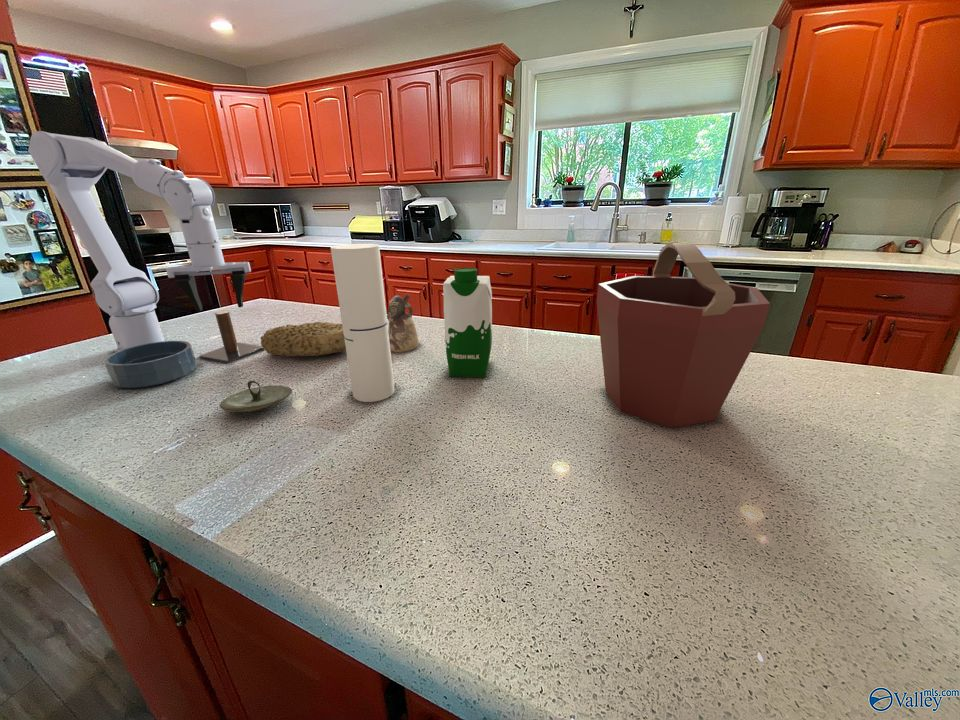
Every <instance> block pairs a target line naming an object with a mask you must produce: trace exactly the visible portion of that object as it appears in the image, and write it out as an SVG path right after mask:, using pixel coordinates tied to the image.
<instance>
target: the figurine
mask: <svg viewBox="0 0 960 720" xmlns="http://www.w3.org/2000/svg"><path fill="white" fill-rule="evenodd" d="M410 298H411V295H409V294H407V293H406V294H405V295H404V296H403V297H402V296H400V295H394V296H393V297H392V298H391V299H390V300H389V301H388V307H387V308H388V309H387V310H386V315H387V322H388V333H389V343H390V352H394V353H395V352H396V353H404V352H409V351H413V350H415V349H416V348H417V347H418V345H419V336H418V331H417V327H416V324H415V322H414V319H413V313H414V312H413V307H412V305H411V304H410V303H409V302H408V301H409V300H410ZM406 309H408V312H406Z"/></svg>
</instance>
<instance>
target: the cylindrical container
mask: <svg viewBox="0 0 960 720" xmlns="http://www.w3.org/2000/svg"><path fill="white" fill-rule="evenodd" d="M330 255H331V259H332V266H333V273H334V281H335V286H336V292H337V300H338V306H339V312H340V319H341V324H342V326H343V333H344V339H345V346H346V350H345V352H346V358H347V359H346V360H347V364H348V365H347V366H348V371H349V379H350V385H351V391H352V392H351V393H352V397H353V398H354V399H355V400H357V401H358V402H364V403H373V402H380V401H383V400H386V399H388V398H390V397H391V396H392V395H393V394H394V393H395V382H394V380H395V379H394V372H393V362H392V354H391V352H392V351H390V343H389V333H388V327H389V323H388V319H387V314H386V313H387V308H386V297H385V287H384V286H385V285H384V278H383V269H382V260H381V251H380V244H378V243H377V244H376V243H347V244H345V243H344V244H336V245H331V246H330Z"/></svg>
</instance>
